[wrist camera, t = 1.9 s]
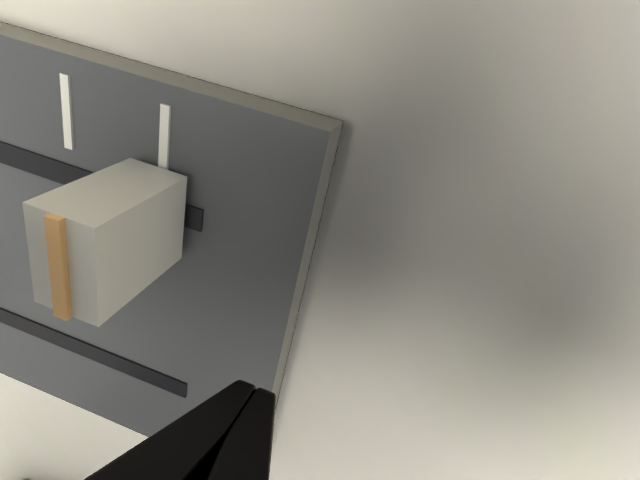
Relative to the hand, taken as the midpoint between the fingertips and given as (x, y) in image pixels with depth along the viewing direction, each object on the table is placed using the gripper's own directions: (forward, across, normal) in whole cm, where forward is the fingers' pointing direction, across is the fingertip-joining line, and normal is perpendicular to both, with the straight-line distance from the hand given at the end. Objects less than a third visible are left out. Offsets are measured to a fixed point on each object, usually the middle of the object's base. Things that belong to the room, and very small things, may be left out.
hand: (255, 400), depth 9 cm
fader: (+6, +6, 0) cm, 8 cm away
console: (+7, +13, +4) cm, 15 cm away
